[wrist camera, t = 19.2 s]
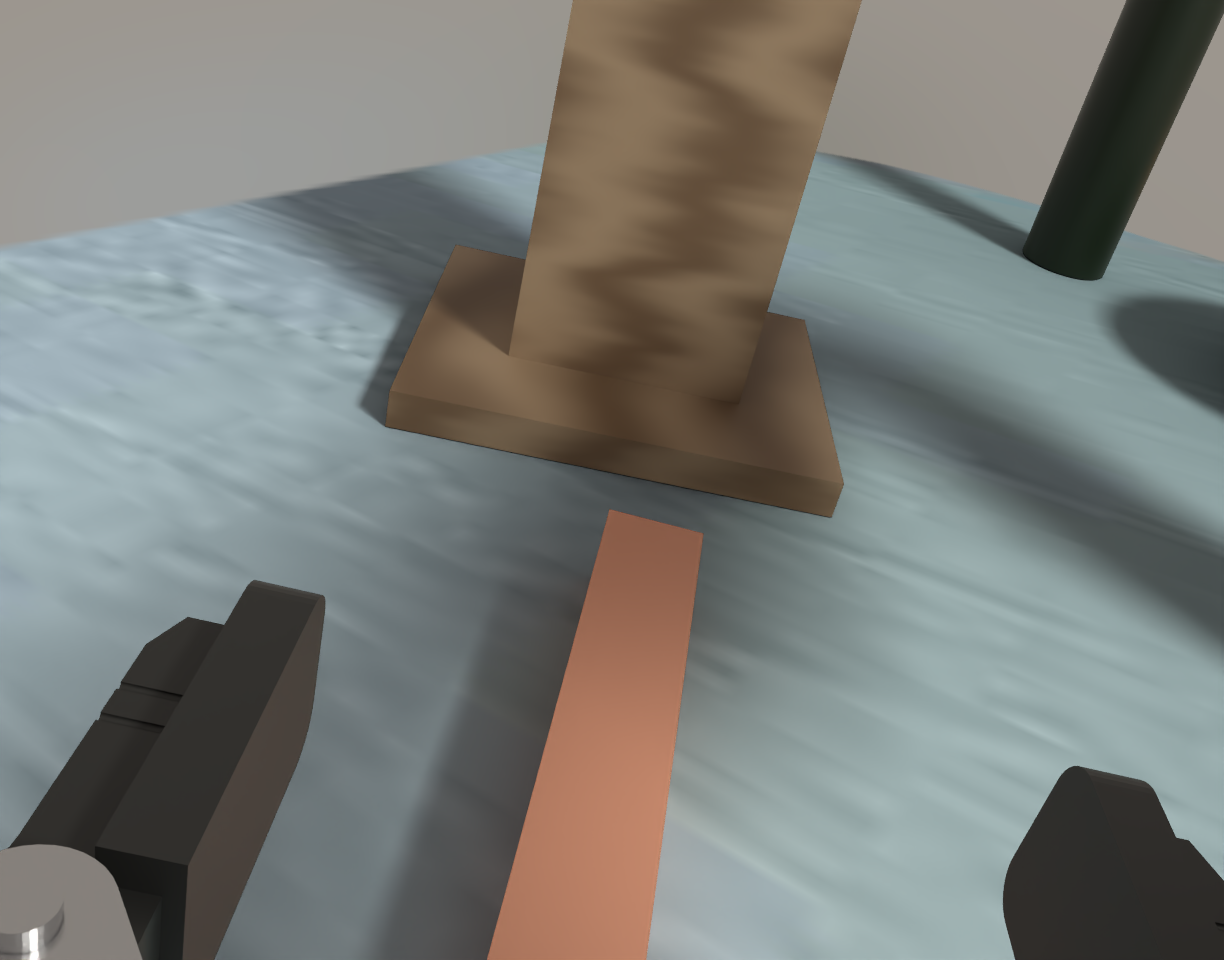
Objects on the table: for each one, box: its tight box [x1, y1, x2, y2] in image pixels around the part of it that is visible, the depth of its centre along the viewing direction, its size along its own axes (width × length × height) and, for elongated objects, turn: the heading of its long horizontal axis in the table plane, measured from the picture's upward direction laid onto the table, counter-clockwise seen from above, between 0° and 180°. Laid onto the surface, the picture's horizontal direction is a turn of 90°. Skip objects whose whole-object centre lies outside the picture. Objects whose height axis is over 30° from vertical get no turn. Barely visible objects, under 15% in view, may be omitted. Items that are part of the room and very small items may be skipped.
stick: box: [487, 509, 703, 960], centre depth 28 cm, size 3×26×3 cm, turn 171°
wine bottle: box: [1023, 0, 1224, 280], centre depth 76 cm, size 6×6×30 cm
